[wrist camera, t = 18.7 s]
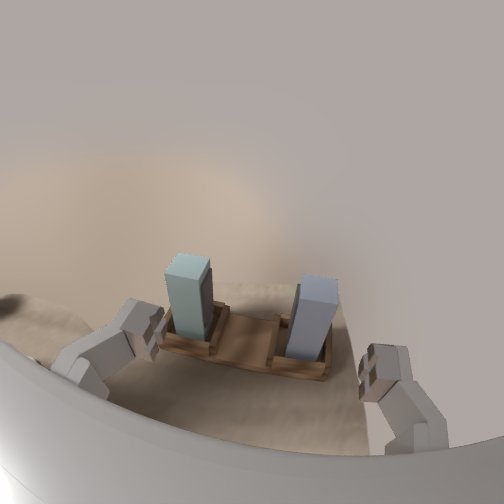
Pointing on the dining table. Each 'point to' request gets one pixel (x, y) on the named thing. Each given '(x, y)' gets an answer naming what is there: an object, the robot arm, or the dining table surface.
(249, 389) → the dining table surface
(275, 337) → the wooden double tray
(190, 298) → the teal rectangular block
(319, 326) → the block
